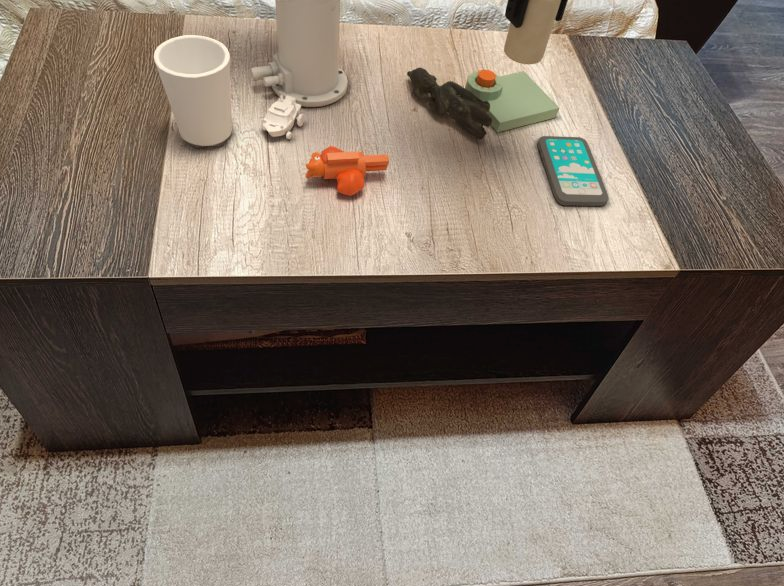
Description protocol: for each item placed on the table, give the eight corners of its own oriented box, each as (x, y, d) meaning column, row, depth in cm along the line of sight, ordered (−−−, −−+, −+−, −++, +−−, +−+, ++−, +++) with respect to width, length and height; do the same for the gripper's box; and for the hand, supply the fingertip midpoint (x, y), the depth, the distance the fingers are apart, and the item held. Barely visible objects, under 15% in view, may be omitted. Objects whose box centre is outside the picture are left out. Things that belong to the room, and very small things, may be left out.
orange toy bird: (386, 136, 88) (302, 140, 86) (395, 182, 87) (310, 189, 84) (381, 155, 93) (302, 160, 91) (390, 200, 91) (309, 206, 89)
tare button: (482, 90, 102) (484, 81, 100) (472, 79, 103) (474, 71, 102) (497, 86, 103) (499, 78, 101) (487, 76, 104) (489, 68, 103)
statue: (467, 139, 95) (387, 77, 103) (482, 150, 99) (404, 91, 108) (493, 103, 93) (409, 43, 101) (506, 116, 97) (425, 58, 106)
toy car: (308, 118, 98) (307, 95, 94) (285, 147, 93) (284, 124, 90) (280, 109, 98) (278, 86, 95) (256, 138, 94) (254, 114, 90)
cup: (198, 165, 89) (181, 85, 79) (159, 130, 93) (138, 49, 82) (253, 138, 94) (245, 59, 83) (214, 106, 97) (201, 26, 87)
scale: (492, 133, 100) (497, 115, 98) (457, 93, 106) (461, 74, 103) (556, 117, 105) (562, 99, 102) (519, 79, 110) (525, 60, 107)
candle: (540, 68, 83) (565, -8, 75) (500, 59, 83) (520, -18, 75) (544, 47, 86) (568, -29, 78) (506, 38, 86) (525, -39, 78)
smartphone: (558, 200, 91) (536, 134, 100) (556, 205, 92) (534, 139, 100) (612, 201, 93) (586, 136, 101) (609, 206, 94) (584, 141, 102)
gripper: (623, -167, 70) (569, -4, 85) (495, -161, 65) (462, 12, 80) (664, -140, 67) (601, 25, 82) (533, -131, 61) (491, 44, 76)
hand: (533, 17), depth 80 cm, fingers closed on candle, 5 cm apart
